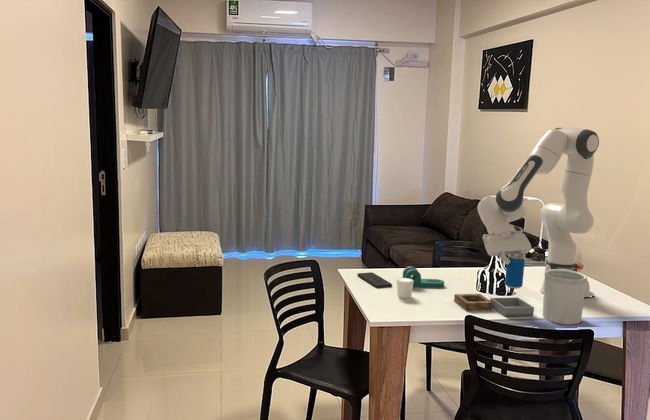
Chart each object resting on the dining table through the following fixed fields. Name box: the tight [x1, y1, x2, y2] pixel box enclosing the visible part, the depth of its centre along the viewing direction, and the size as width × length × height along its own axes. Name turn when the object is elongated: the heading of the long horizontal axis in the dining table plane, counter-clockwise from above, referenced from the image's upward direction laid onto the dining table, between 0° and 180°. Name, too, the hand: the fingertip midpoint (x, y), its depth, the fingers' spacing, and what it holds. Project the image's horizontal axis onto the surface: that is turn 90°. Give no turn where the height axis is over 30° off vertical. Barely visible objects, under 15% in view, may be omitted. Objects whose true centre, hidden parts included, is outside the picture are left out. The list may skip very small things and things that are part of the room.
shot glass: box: [396, 277, 414, 299], centre depth 238 cm, size 7×7×7 cm
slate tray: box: [489, 296, 535, 318], centre depth 225 cm, size 12×12×4 cm
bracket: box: [402, 265, 445, 289], centre depth 254 cm, size 18×7×8 cm, turn 93°
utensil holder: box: [542, 269, 588, 325], centre depth 217 cm, size 15×15×18 cm
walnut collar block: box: [453, 293, 494, 312], centre depth 229 cm, size 11×11×3 cm
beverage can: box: [504, 254, 526, 289], centre depth 222 cm, size 6×6×12 cm
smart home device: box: [357, 272, 393, 289], centre depth 258 cm, size 8×2×20 cm
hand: (516, 263), depth 221 cm, fingers closed on beverage can, 6 cm apart
